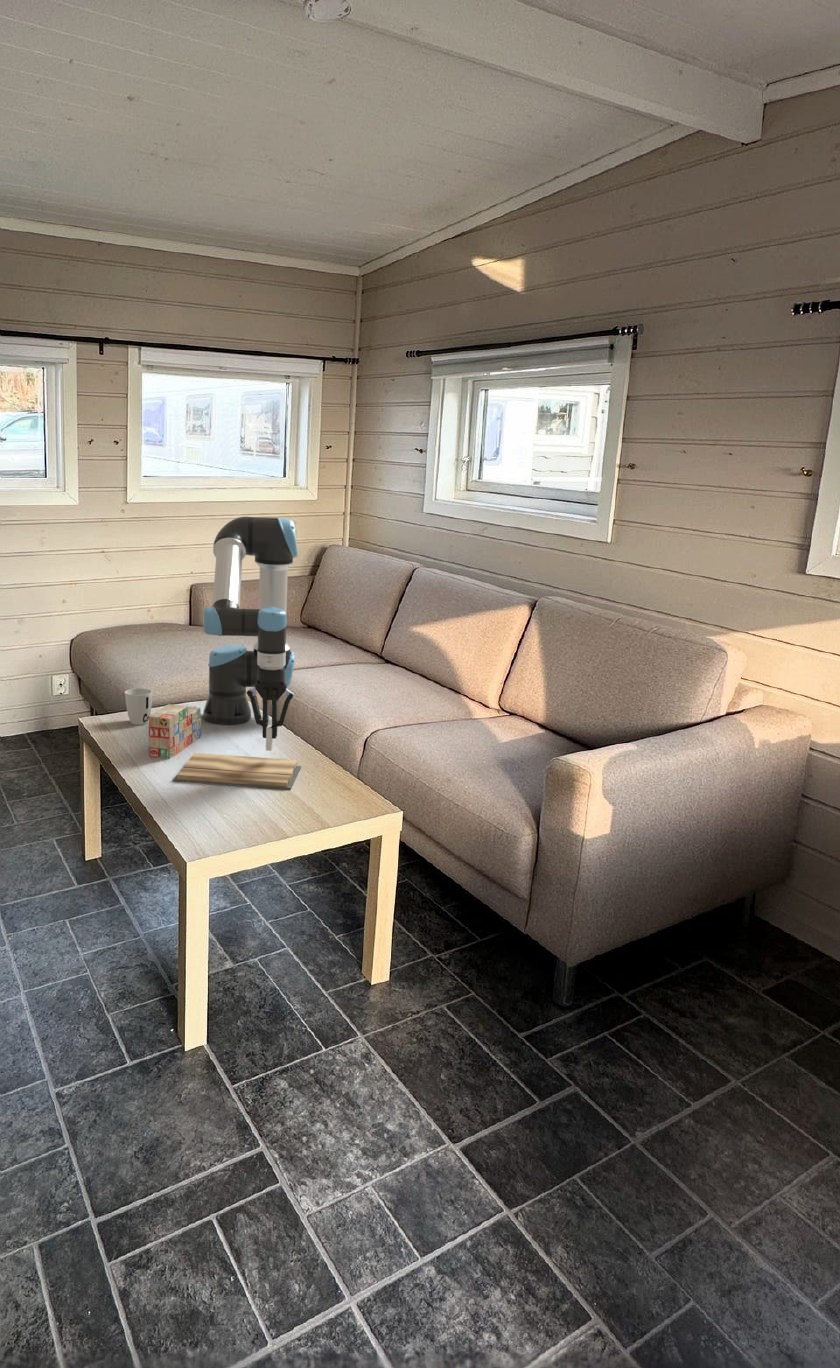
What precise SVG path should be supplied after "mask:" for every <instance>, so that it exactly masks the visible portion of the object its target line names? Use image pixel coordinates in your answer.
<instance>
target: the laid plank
mask: <svg viewBox="0 0 840 1368" xmlns="http://www.w3.org/2000/svg"><path fill="white" fill-rule="evenodd" d="M181 769H182V770H181ZM181 769H180V770H181V771H180V770H179V771H180V772H177V773H176V775H177V779H181V780H195V781H209V782H223V783H237V784H251V785H265V786H280V787H287V786H288V784H289V782H290V780H291V775H279V774H265V773H251V772H237V771H223V770H208V769H194V768H183V767H182V768H181Z"/></svg>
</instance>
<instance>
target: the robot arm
mask: <svg viewBox="0 0 840 1368" xmlns="http://www.w3.org/2000/svg"><path fill="white" fill-rule="evenodd" d="M296 535H297V534H296V528H295V522H294V521H293V520H291V519H290V518H282V517H266V516H265V517H263V516H240V517H236V518H233V519H232V520H230V521H229V522H227V523H226V524H225V525H224V526H223V527H222V528H221V529H220V530H219V531H218V532H217V534H216V536H215V538H214V541H213V548H212V550H213V551H212V552H213V555H214V557H215V568H214V580H213V592H212V593H213V595H212V604H211V605H212V606H211V607H205V608H204V610H203V631H204V633H205V635H209V636H219V637H222V636H223V637H224V636H228V637H229V636H230V637H233V636H234V637H241V636H243V637H257V642H256V643H254V644H253V650H248V648H247V646H245V645H243V644H242V645H240V644H230V645H228V644H227V645H223V646H218V647H216V648H214V649H212V650H211V651H210V652H209V657H208V658H209V659H208V668H209V669H208V696H207V699H206V702H205V705H204V709H203V714H202V716H203V717H202V718H203V720H204V721H206V722H208V723H212V724H217V725H238V724H244V723H246V722H249V721H250V720H251V719H252V713H253V715H254V721H255V724H256V725H257V726H258V725H259V726H261V728H262V739H265V751H269V752H270V751H273V748H274V739H277V737H278V727H283V725H284V724H285V722H286V717H287V713H288V710H289V707H290V703H291V700H292V699H293V697H294V696H295V694H296V693H295V691H292V690H289V688H287V687H289V686H290V685H291V682H292V679H293V678H292V677H293V674H294V673H293V672H294V667H295V658H296V655H295V652H294V651H291V646H290V644H288V642H287V625H288V619H287V614H288V613H287V610H288V609H287V606H288V604H287V603H288V575H289V574H288V572H289V571H288V570H289V568H290V566H291V565H293V562H294V559H295V558H297V557H298V545H297V538H296V537H297V536H296ZM246 556H250V557H251V556H252V557H254V563H256V565H257V566H259V582H258V583H259V585H258V586H259V588H258V590H259V591H258V593H259V594H258V602H259V603H258V604H259V605H258V608H241V591H242V589H241V588H242V570H243V569H242V568H243V560H244V558H245V557H246ZM247 688H248V690H247ZM257 694H258V695H259V696H260V697H261V698H262V699H261V700H262V713H261V710H260V706H259V701H258V697H257ZM283 695H284V698H285V700H284V702H283V706H282V710H281V713H280V717H279V700H280V698H281V697H282V696H283ZM248 698H249V700H250V703H249V700H248ZM270 701H271V724H269V722H270V721H269V718H270V717H269V714H270V713H269V711H270ZM250 704H251V705H250ZM250 706H251V707H250ZM251 708H252V709H251Z"/></svg>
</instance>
